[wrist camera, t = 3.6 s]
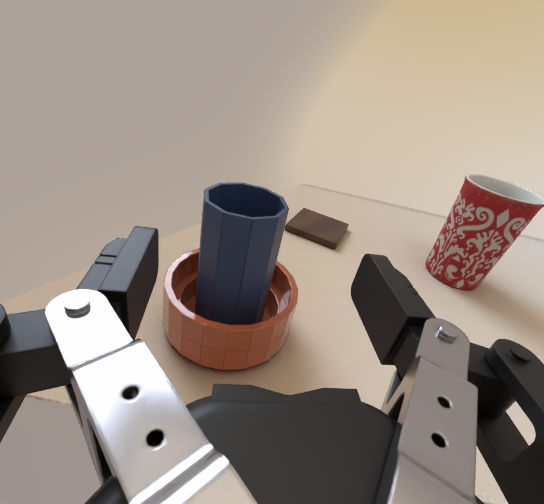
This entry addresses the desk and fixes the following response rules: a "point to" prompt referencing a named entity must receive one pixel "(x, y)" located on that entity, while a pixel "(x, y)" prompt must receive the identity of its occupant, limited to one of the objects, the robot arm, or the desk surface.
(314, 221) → the coaster
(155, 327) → the desk surface
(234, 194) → the tumbler
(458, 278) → the mug
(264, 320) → the bowl
